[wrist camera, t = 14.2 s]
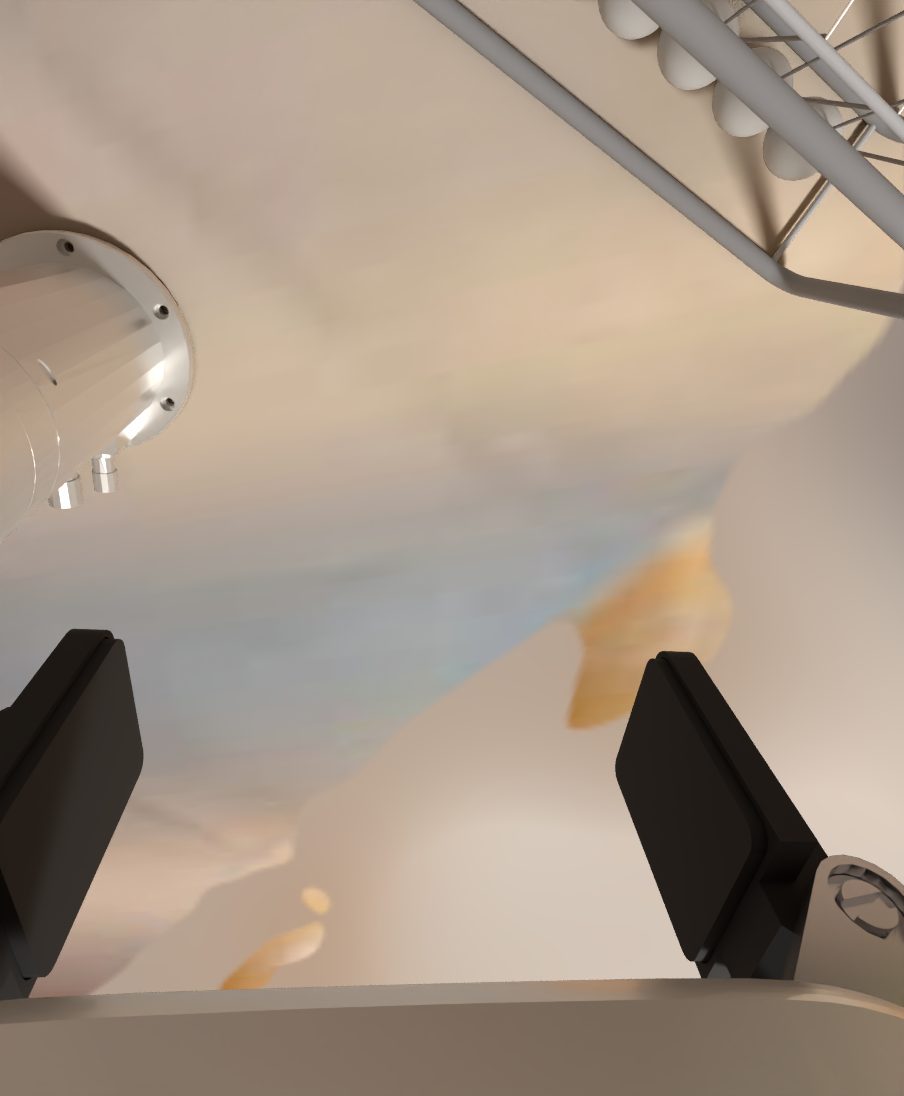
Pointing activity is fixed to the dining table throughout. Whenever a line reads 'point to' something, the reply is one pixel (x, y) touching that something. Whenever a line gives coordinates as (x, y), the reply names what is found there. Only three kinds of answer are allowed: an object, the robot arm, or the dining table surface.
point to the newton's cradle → (738, 116)
